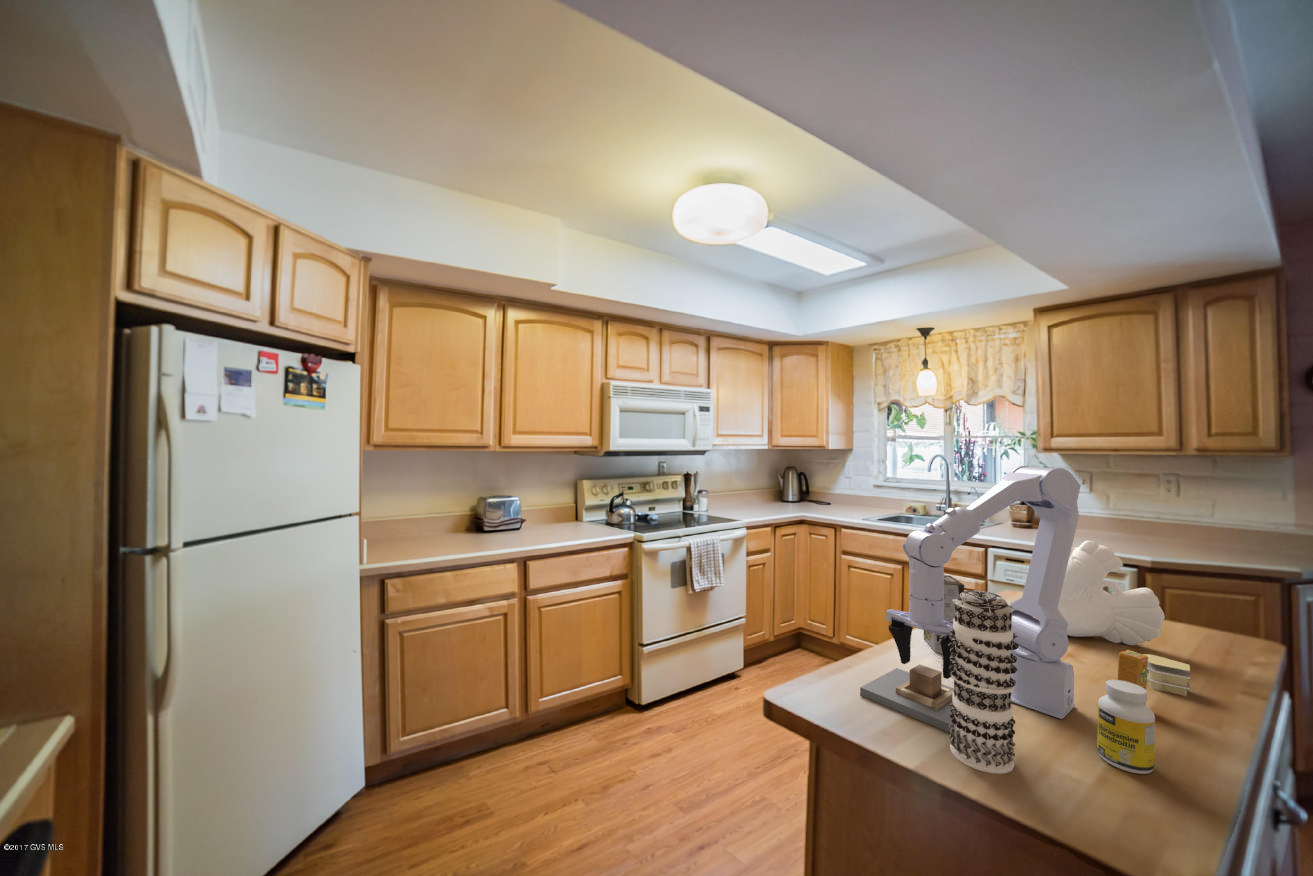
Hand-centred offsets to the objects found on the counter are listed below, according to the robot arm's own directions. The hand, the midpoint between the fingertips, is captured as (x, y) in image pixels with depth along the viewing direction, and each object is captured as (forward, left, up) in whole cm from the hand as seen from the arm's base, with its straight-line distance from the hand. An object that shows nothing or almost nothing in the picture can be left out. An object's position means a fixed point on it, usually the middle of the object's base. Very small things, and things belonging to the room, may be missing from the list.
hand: (925, 669), depth 97 cm
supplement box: (-24, -29, -6) cm, 38 cm away
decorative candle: (-13, +10, -6) cm, 18 cm away
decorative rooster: (-10, -66, -7) cm, 67 cm away
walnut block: (0, 0, -6) cm, 6 cm away
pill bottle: (-27, -6, -6) cm, 28 cm away
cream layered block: (-26, -45, -7) cm, 53 cm away
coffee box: (+10, -31, -7) cm, 33 cm away
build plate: (0, 0, -6) cm, 6 cm away
